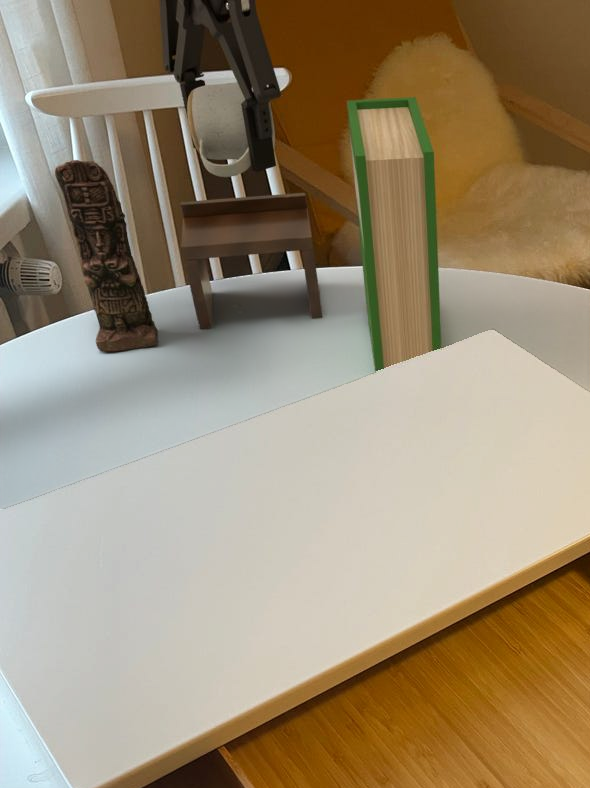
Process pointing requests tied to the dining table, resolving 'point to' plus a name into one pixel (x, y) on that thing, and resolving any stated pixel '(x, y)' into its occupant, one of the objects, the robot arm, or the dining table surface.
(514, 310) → the dining table surface
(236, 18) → the robot arm
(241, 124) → the ceramic mug
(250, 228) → the wooden step stool
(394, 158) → the hardback book
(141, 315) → the statue
